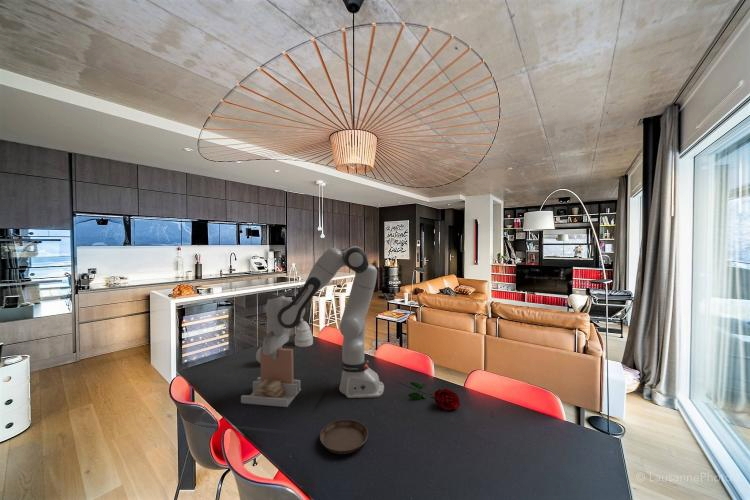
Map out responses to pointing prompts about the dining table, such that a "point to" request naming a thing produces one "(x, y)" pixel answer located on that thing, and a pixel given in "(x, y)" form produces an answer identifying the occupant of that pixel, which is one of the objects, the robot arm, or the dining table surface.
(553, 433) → the dining table surface
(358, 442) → the plant saucer
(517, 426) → the dining table surface
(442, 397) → the flower
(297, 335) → the honey pot
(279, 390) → the offcut middle
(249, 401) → the rack
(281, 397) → the offcut bottom
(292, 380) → the brown square panel
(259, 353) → the ornament
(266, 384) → the offcut top
